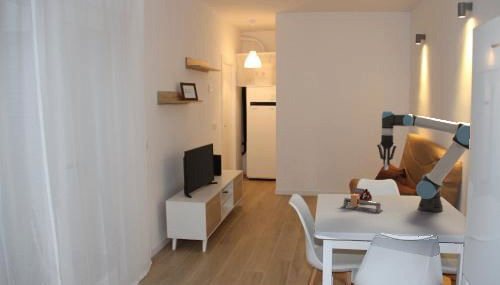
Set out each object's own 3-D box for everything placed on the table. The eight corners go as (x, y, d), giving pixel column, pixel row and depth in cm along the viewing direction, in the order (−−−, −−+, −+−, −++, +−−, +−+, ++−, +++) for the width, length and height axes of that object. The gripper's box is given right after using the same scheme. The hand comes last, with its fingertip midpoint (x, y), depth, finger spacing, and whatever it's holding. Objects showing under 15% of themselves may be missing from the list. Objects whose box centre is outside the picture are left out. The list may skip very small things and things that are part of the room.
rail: (382, 211, 288) (383, 201, 287) (378, 213, 281) (379, 204, 280) (345, 205, 302) (345, 196, 302) (341, 208, 296) (341, 198, 295)
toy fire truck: (370, 204, 304) (370, 190, 303) (352, 203, 310) (352, 188, 308) (372, 202, 310) (372, 188, 309) (355, 201, 316) (355, 186, 315)
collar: (359, 204, 295) (359, 194, 294) (356, 206, 291) (356, 195, 290) (353, 204, 298) (353, 193, 297) (350, 205, 293) (350, 195, 292)
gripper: (398, 134, 289) (397, 169, 291) (379, 133, 296) (378, 168, 299) (395, 135, 283) (394, 171, 285) (375, 134, 290) (374, 169, 293)
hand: (386, 169), depth 292 cm, fingers closed
